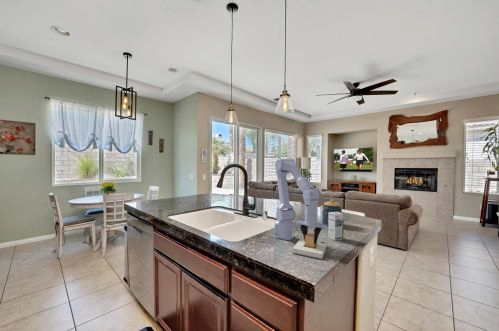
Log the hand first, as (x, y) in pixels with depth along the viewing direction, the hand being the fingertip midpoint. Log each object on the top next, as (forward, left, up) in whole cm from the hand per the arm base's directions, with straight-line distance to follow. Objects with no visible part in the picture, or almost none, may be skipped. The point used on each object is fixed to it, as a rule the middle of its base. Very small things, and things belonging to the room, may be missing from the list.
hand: (310, 242), depth 102 cm
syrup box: (+9, +23, -4) cm, 25 cm away
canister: (+4, +51, -4) cm, 51 cm away
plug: (0, 0, -2) cm, 2 cm away
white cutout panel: (0, 0, -4) cm, 4 cm away
